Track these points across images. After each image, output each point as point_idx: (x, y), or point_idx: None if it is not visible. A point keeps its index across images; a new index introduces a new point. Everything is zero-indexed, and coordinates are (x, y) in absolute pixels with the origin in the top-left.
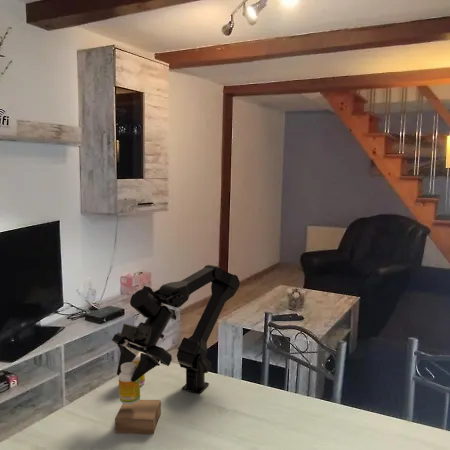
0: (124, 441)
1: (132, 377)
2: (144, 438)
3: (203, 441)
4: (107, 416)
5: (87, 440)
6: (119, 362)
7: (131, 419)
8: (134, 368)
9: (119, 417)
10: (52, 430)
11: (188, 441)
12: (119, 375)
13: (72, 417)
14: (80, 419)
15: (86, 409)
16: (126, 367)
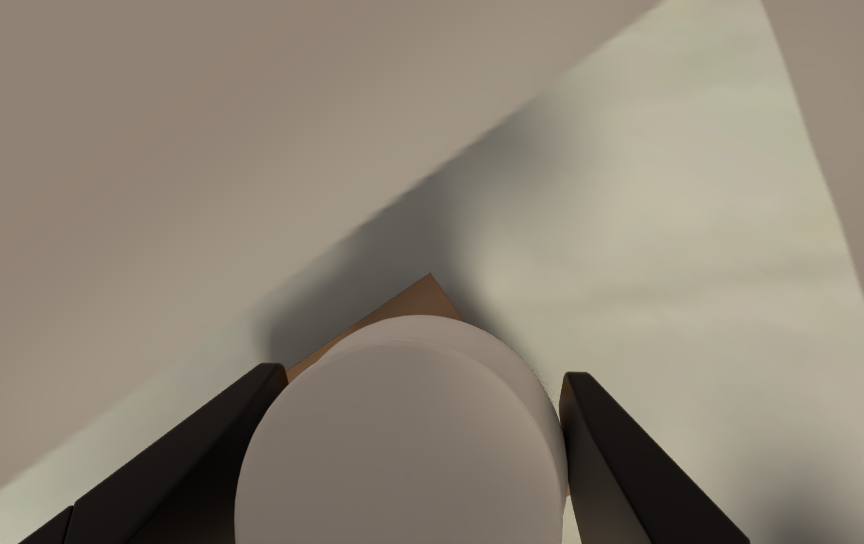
0: (347, 271)
1: (247, 383)
2: (286, 347)
3: (24, 512)
4: (604, 369)
5: (492, 173)
6: (708, 512)
7: (346, 332)
8: (245, 514)
9: (418, 298)
10: (696, 119)
11: (88, 464)
12: (487, 341)
13: (741, 244)
14: (689, 258)
15: (768, 344)
16: (347, 397)
